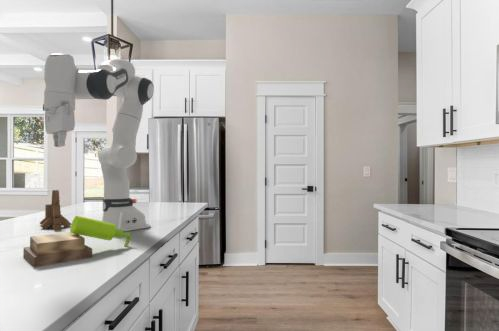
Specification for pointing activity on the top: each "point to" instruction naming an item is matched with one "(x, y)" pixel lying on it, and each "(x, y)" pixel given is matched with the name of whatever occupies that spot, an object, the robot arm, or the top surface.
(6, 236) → the top surface
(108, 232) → the soap dispenser
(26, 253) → the walnut base slab
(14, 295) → the top surface
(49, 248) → the oak top slab
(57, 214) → the wooden blocks
